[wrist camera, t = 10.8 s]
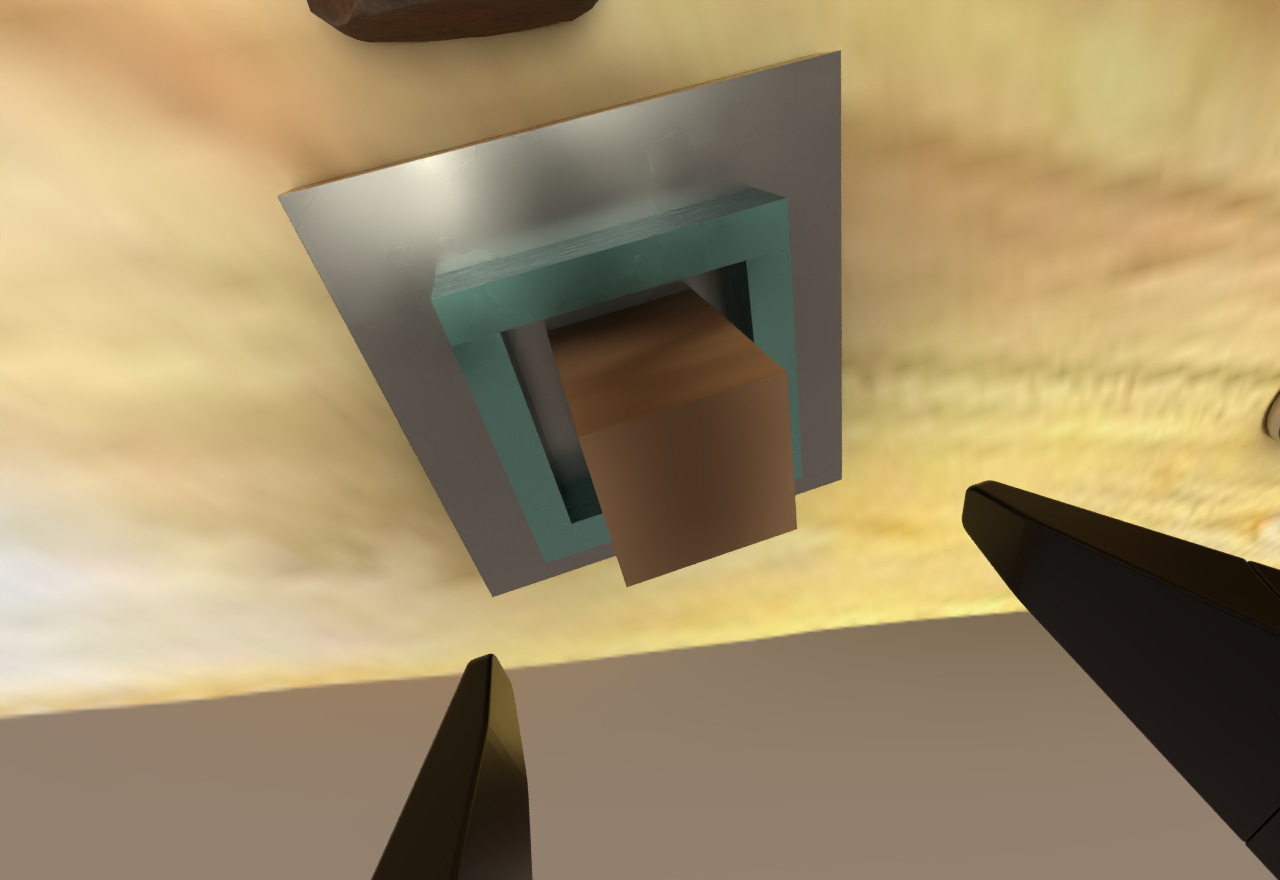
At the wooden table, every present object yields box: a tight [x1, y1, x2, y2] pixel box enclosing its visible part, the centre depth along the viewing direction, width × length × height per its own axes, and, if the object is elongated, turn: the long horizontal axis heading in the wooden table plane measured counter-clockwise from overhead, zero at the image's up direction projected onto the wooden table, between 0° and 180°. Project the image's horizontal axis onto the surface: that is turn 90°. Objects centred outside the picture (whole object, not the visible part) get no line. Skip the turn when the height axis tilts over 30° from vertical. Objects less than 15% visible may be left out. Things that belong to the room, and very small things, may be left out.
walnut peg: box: [547, 289, 797, 587], centre depth 15 cm, size 4×4×6 cm
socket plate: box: [277, 50, 842, 597], centre depth 17 cm, size 14×14×3 cm
